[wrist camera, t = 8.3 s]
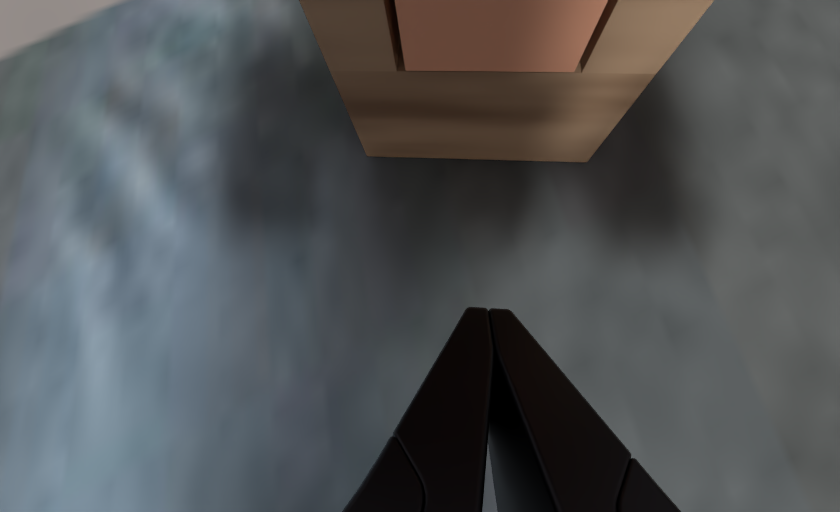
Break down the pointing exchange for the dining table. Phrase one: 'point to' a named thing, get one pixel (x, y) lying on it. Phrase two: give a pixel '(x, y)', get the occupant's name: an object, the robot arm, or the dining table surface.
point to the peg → (496, 34)
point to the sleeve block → (494, 85)
